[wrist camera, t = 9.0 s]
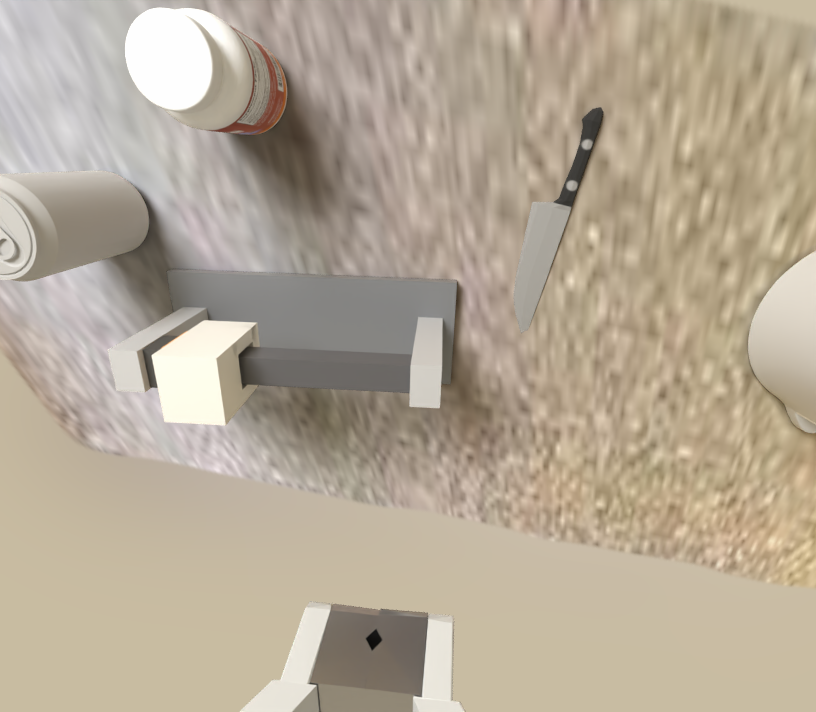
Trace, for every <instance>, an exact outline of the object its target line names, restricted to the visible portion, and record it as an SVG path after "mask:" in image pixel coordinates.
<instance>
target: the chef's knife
mask: <svg viewBox="0 0 816 712" xmlns="http://www.w3.org/2000/svg"><path fill="white" fill-rule="evenodd" d="M602 116H603V110H602V109H601V107H600V108H596V109H592V110H591V111H590V112H589V113H588V114H587V115H586V116H585V117H584V118H583V119H582V121H583V130H582V135H581V141H580V145H579V148H578V151H577V154H576V157H575V159H574V162H573V165H572V168H571V170H570V172H569V175H568V177H567V179H566V182H565V184H564V187H563V189H562V192H561V195H560V197H559V199H557V200H556V201H554V202H532V206H531V211H530V215H529V220H528V224H527V229H526V233H525V238H524V242H523V247H522V251H521V256H520V261H519V265H518V270H517V274H516V280H515V289H514V306H515V312H516V317H517V321H518V324H519V328H520V332H521V333H522V332H524V331H526V330H528V328H529V326H530V323H531V320H532V317H533V315H534V312H535V309H536V306H537V304H538V301H539V298H540V295H541V293H542V290H543V287H544V284H545V282H546V279H547V276H548V273H549V270H550V267H551V265H552V262H553V259H554V256H555V253H556V251H557V248H558V245H559V242H560V239H561V236H562V234H563V231H564V228H565V225H566V222H567V220H568V217H569V214H570V211H571V207H572V204H573V201H574V199H575V196H576V193H577V190H578V187H579V184H580V182H581V179H582V176H583V173H584V170H585V167H586V165H587V162H588V159H589V156H590V153H591V150H592V148H593V145H594V142H595V139H596V136H597V133H598V131H599V128H600V125H601V121H602Z"/></svg>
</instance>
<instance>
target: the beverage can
mask: <svg viewBox="0 0 816 712" xmlns="http://www.w3.org/2000/svg"><path fill="white" fill-rule="evenodd" d="M148 228H149V215H148V210H147V207H146V204H145V202H144V200H143V198H142V196H141V195H140V193H139V192H138V191H137V189H136V188H135V187H134V186H133V185H132V184H131V183H130V182H128V181H127V180H126V179H124V178H123V177H121V176H119V175H117V174H115V173H112V172H108V171H100V170H98V171H70V172H42V173H15V174H0V280H15V281H32V280H36V279H39V278H43V277H46V276H49V275H53V274H56V273H59V272H63V271H66V270H69V269H73V268H76V267H79V266H83V265H86V264H89V263H93V262H96V261H100V260H103V259H106V258H110V257H113V256H116V255H120V254H123V253H126V252H130V251H132V250H134V249H136V248H137V247H138V246H139V245H141V244H142V242H143V241H144V239H145V238H146V235H147V233H148Z"/></svg>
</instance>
